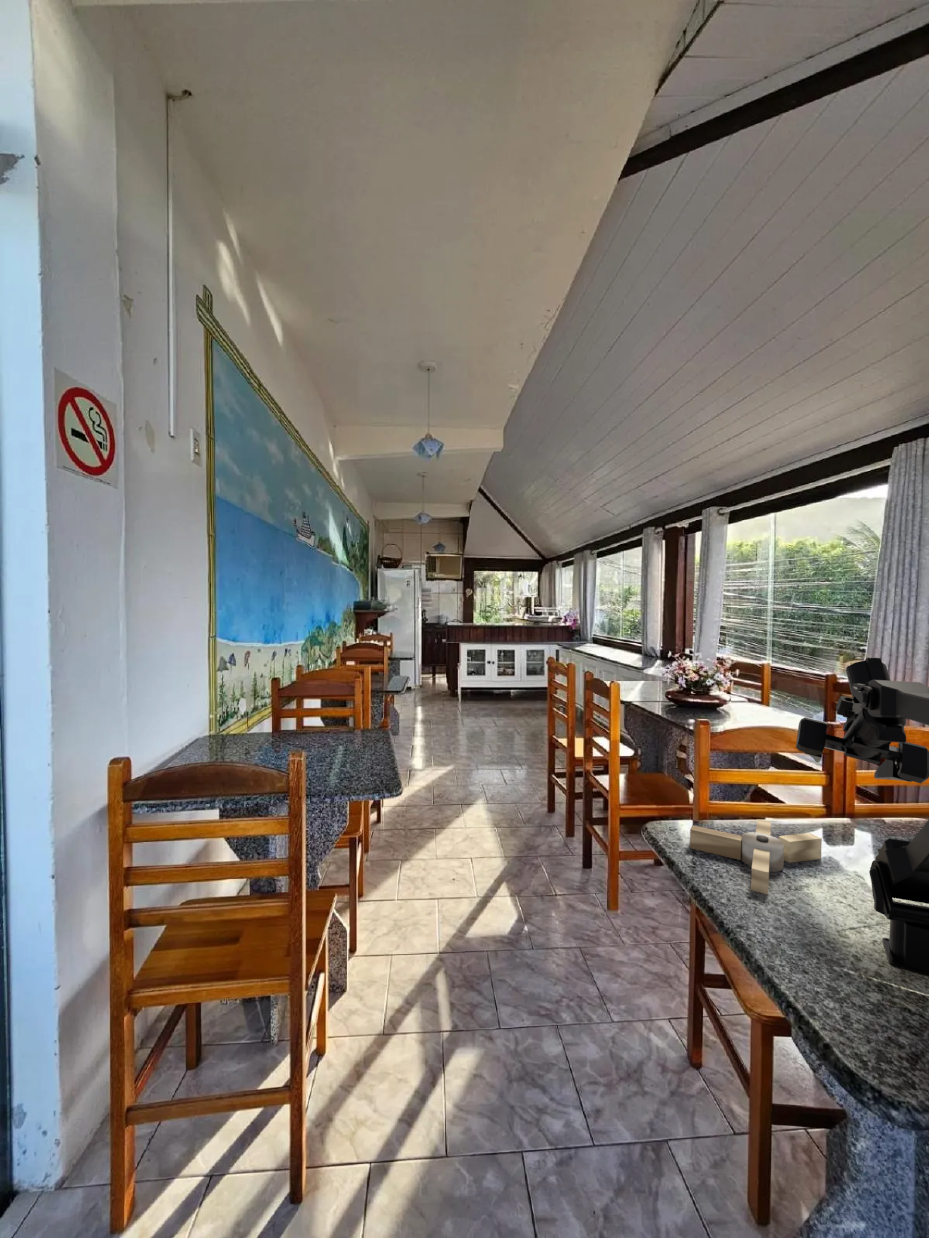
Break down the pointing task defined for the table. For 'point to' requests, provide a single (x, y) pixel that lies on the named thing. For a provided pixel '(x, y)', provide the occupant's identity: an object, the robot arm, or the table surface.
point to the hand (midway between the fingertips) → (845, 767)
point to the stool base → (744, 850)
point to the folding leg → (801, 847)
